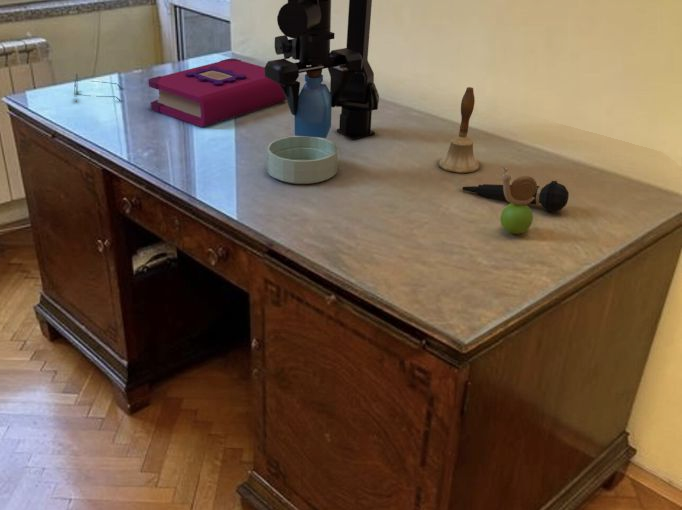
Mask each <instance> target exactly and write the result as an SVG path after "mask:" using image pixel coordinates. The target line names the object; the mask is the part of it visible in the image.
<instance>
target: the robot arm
mask: <svg viewBox="0 0 682 510" xmlns="http://www.w3.org/2000/svg"><path fill="white" fill-rule="evenodd" d="M372 4H373V0H348V15H347V29H346V31H347V33H346V47H343V48H338V49H332V50H331V40H334V39H335V32H333V31H331V29H332V28H331V27H332V25H331V24H332V23H331V21H332V0H287V2H286V3H285V4H283V5H282V6H281V7H280V9H279V10H278V14H277V16H276V21H277V26H278V29H279V30H280V32H281V33H282V35H278V36H275V37H274V52H275V54H276V55H277V56H279V55H283V58H279V59H273V60H272V59H271V60H268V61H267V62H266V64H265V65H264V67H265V77H267V78H269V79H271V80H272V81H274V82H276V83H278V84H279V85H280V86H281V88H282V90H283V92H284V94H285V97H286V102H287V105H288V107H289V111H290V113H291V115H292V116H294V117H295V115H296V114H297V109H298V100H299V94H300V90H301V89H300V88H301V82H300V81H298V79H299V77H300V74H301V73H306V72H308V71H311V70H316V69H321V68H322V70H325V69H327V71H328V73H329V77H330V81H329V82H330V84H329V85H330V86H329V91H330V93H331V95H332V108H339V107H340V108H341V111H340V114H339V125H338V126H339V128H337V129H336V133H339V134H340V135H342V136H345V137H346V138H347V139H348V138H349V139H350V140H357V139H361V138H366V137H370V136H374V135H376V132H375V131H374V130H372V114H373V111H377V110H379V103H380V102H379V98H380V94H379V92H378V90H377V89H378V88H377V87H376V83H374V81H375V72H374V71H373V69H372V67H371V64H370V63H369V60H368V59H369V58H368V57H369V46H370V33H371V32H370V31H371V18H372V7H373V5H372ZM289 38H290V39H289ZM290 58H292V60H295V61H296V62H293V61H290V60H288V59H290ZM297 61H298V62H297Z"/></svg>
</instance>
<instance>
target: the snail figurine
mask: <svg viewBox="0 0 682 510" xmlns="http://www.w3.org/2000/svg"><path fill="white" fill-rule="evenodd" d="M502 169H503V172H504V173H503V175H502V178H501V179H502V185H503V190H504V195H505V198H506V200H505V201H507V202H508V203H509V204H507V205H506V206H505V207H504V208H503V209H502V210H501V214H500V224H501V226H502V228H503V229H504V230H505V231H506V232H507V233H510V234H515V235H517V234H518V235H519V234H523V233H524V232H526V231H527V230H529V228H530V227H531V226H532V224H533V220H534V214H533V211H532V209H531V208H530V206H529V205H530V204H529V203H530V202H532V201H533V200H534V197H532V196H533V195H534V194H535V193H536V190H537V186H538V184H537V181H536V179H535V178H534V177H532V176H530V175H522V176H521V175H520V176H519V177H517V178H516V179H515V180H513V181H512V183H511V179H512V176H511V174H510V173H507V172H508V171H509V169H508V168H507V167H506V166H504V167H503V168H502ZM510 185H511V186H510Z"/></svg>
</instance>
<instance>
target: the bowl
mask: <svg viewBox="0 0 682 510" xmlns="http://www.w3.org/2000/svg"><path fill="white" fill-rule="evenodd" d="M338 151H339V147H338V146H337V145H336V143H335V142H333V141H331V140H329V139H327V138H319V137H306V136H295V135H290V136H289V135H288V136H285V137H280V138H277V139H275V140H272V141H271V142H270V143H268V144H267V145H266V171H267V173H268V175H269V176H271V177H272V178H274V179H275V180H278V181H281V182H283V183H287V184H293V185H310V184H317V183H321V182H324V181H327V180H329V179H331V178H333V177H334V176H335V175H336V174H337V173H338V156H339V155H338Z"/></svg>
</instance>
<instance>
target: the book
mask: <svg viewBox="0 0 682 510" xmlns="http://www.w3.org/2000/svg"><path fill="white" fill-rule="evenodd" d="M147 81H148V87H149V88H151V89H155V90H158V99H157V100H153V101H151V102H150V109H151V111H153V112H156V113H159V114H160V113H161V114H163V115H166V116H167V115H168V116H170V117H173V118H175V119H178V120H179V121H183V122H186V123H188V124H192V125H194V126H197V127H200V128H202V127H207V126H210V125H213V124H216V123H219V122H222V121H225V120H226V121H227V120H228V119H229V120H230V119H232V118H235V117H238V116H242V115H244V114H247V113H251V112H254V111H258V110H261V109H264V108H266V107H269V106H272V105H276V104H279V103H282V102H285V101H287V99H286V97H285V94H284V92H283V90H282V88H281V86H280V85H279V84H278V83H276V82H274V81H272V80H271V79H269V78H267V77H265V66H261V65H259V64H255V63H250V62H247V61H243V60H241V59H237V58H225V59H221V60H219V61H215V62H212V63H208V64H204V65H201V66H200V65H199V66H196V67H192V68H189V69H185V70H184V69H183V70H181V71H177V72H172V73H169V74H165V75H158V76H155V77H151V78H149V79H148V80H147Z"/></svg>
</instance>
